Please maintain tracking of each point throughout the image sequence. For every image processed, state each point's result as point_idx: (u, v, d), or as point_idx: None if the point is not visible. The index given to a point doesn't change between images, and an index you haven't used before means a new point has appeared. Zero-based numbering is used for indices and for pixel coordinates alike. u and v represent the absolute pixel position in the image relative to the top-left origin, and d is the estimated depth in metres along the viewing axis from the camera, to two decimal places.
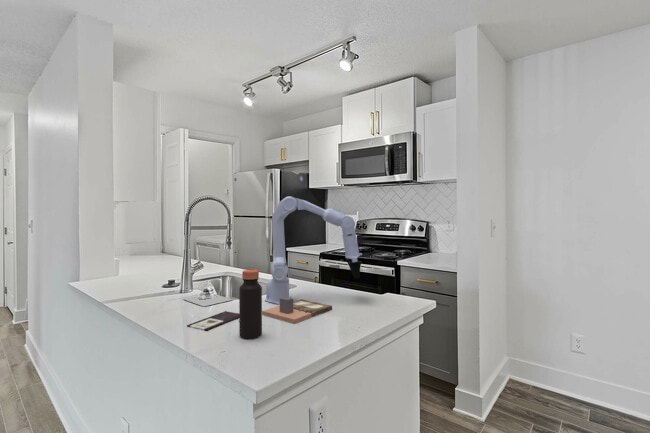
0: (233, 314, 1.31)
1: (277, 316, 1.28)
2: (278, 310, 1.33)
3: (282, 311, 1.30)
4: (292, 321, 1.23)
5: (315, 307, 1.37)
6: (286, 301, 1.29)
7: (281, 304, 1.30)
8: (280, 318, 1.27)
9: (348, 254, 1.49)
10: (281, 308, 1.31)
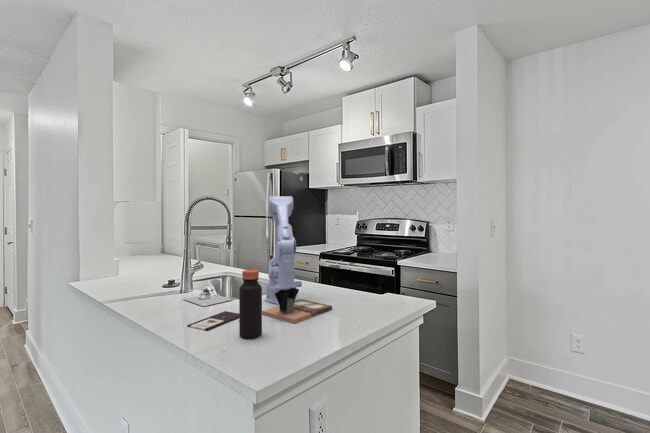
0: (233, 314, 1.31)
1: (277, 316, 1.28)
2: (278, 310, 1.33)
3: (282, 311, 1.30)
4: (292, 321, 1.23)
5: (315, 307, 1.37)
6: None
7: None
8: (280, 318, 1.27)
9: (278, 282, 1.30)
10: None
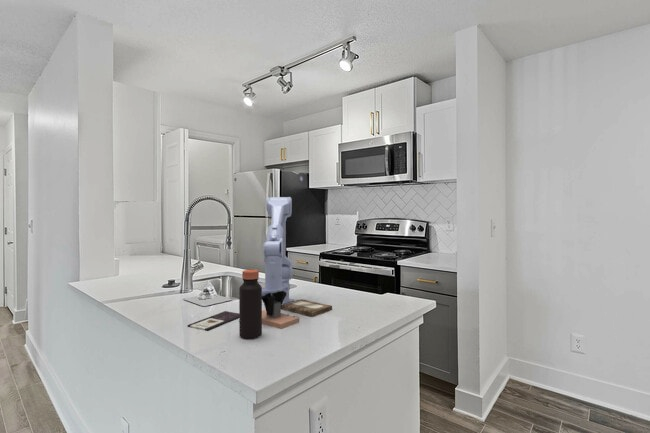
0: (233, 314, 1.31)
1: (263, 321, 1.23)
2: (265, 314, 1.28)
3: (269, 315, 1.25)
4: (278, 326, 1.18)
5: (315, 307, 1.37)
6: (273, 305, 1.24)
7: None
8: (266, 323, 1.22)
9: (265, 285, 1.25)
10: None
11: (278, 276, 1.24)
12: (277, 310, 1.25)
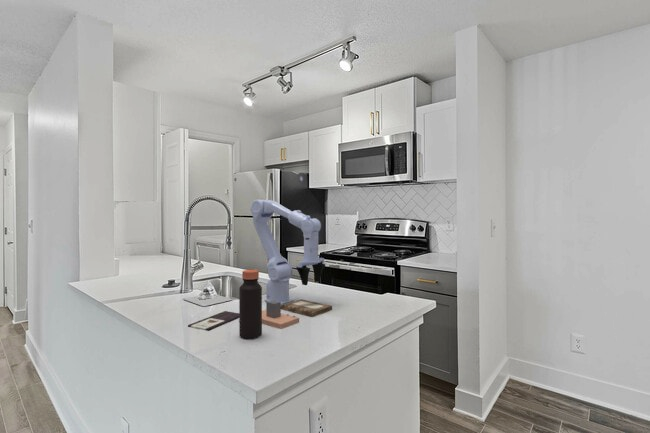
0: (233, 314, 1.32)
1: (263, 321, 1.23)
2: (265, 314, 1.28)
3: (268, 315, 1.25)
4: (278, 326, 1.18)
5: (315, 307, 1.37)
6: (273, 305, 1.24)
7: (268, 308, 1.25)
8: (266, 323, 1.22)
9: (304, 258, 1.42)
10: (268, 312, 1.25)
11: (316, 250, 1.41)
12: (277, 310, 1.25)
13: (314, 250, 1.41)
